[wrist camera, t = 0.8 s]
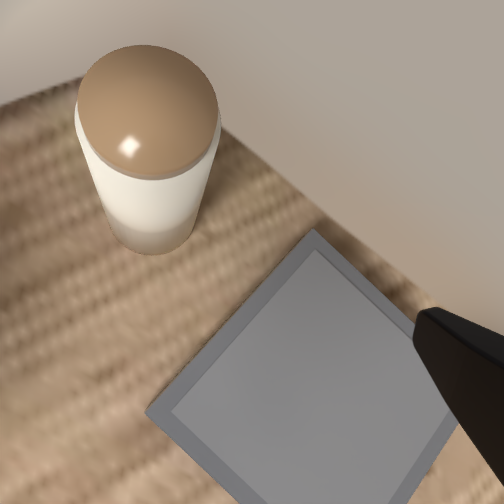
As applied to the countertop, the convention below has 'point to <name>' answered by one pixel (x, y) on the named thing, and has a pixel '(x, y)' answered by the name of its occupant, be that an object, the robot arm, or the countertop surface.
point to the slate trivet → (310, 392)
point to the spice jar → (148, 143)
